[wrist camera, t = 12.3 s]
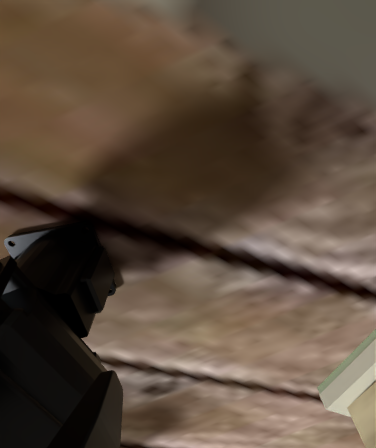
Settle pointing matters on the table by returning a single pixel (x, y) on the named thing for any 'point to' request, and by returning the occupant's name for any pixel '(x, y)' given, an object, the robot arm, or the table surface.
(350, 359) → the bottom slab
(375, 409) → the beige rectangular block
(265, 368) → the table surface
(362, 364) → the top slab
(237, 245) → the table surface
